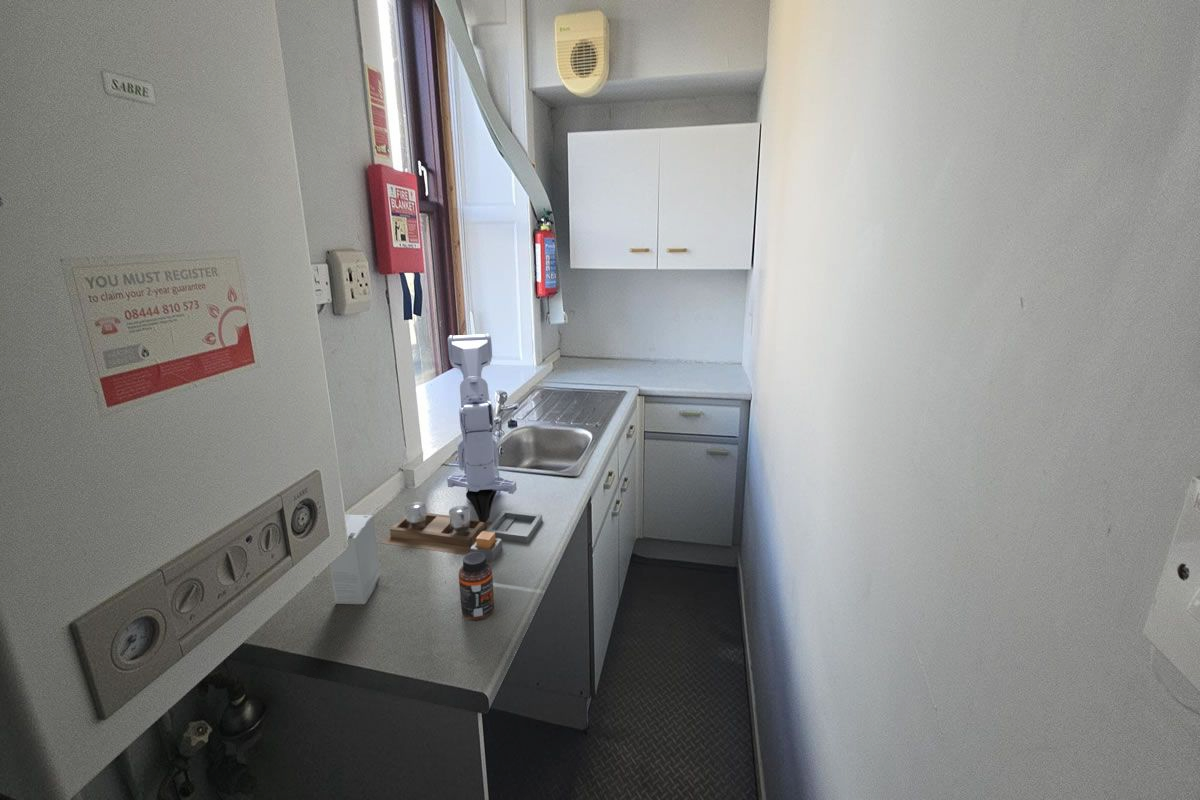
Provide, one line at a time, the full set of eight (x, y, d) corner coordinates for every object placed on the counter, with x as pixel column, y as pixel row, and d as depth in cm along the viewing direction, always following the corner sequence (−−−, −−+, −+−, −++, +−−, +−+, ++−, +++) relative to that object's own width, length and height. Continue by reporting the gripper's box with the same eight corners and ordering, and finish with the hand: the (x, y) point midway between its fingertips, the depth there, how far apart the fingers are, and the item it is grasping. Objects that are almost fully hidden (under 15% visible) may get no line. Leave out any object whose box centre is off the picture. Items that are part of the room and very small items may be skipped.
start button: (483, 543, 119) (482, 530, 118) (495, 544, 119) (495, 532, 118) (477, 550, 116) (476, 538, 116) (490, 552, 116) (489, 539, 115)
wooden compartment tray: (415, 516, 135) (414, 505, 134) (494, 525, 130) (494, 514, 129) (381, 546, 122) (379, 534, 121) (468, 558, 117) (466, 546, 116)
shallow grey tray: (503, 517, 134) (502, 510, 133) (542, 522, 131) (542, 514, 131) (486, 539, 124) (485, 531, 124) (527, 544, 122) (527, 536, 121)
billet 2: (457, 528, 127) (455, 504, 125) (474, 530, 126) (472, 507, 124) (447, 537, 123) (445, 514, 121) (465, 540, 122) (463, 516, 120)
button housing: (481, 548, 121) (480, 536, 120) (502, 550, 120) (501, 538, 119) (471, 560, 116) (470, 548, 115) (493, 563, 115) (492, 551, 114)
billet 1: (414, 523, 129) (411, 500, 127) (431, 525, 128) (428, 502, 127) (404, 533, 125) (401, 509, 123) (421, 535, 124) (418, 511, 122)
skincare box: (353, 578, 111) (343, 513, 106) (383, 578, 110) (374, 513, 106) (334, 606, 102) (321, 536, 98) (366, 606, 102) (355, 536, 98)
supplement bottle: (487, 624, 98) (482, 569, 94) (456, 619, 99) (450, 565, 95) (499, 602, 103) (496, 550, 100) (470, 598, 104) (465, 546, 101)
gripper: (437, 464, 109) (443, 525, 113) (505, 471, 106) (509, 533, 110) (454, 451, 116) (459, 509, 120) (518, 457, 113) (522, 516, 117)
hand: (484, 519), depth 115 cm, fingers closed
